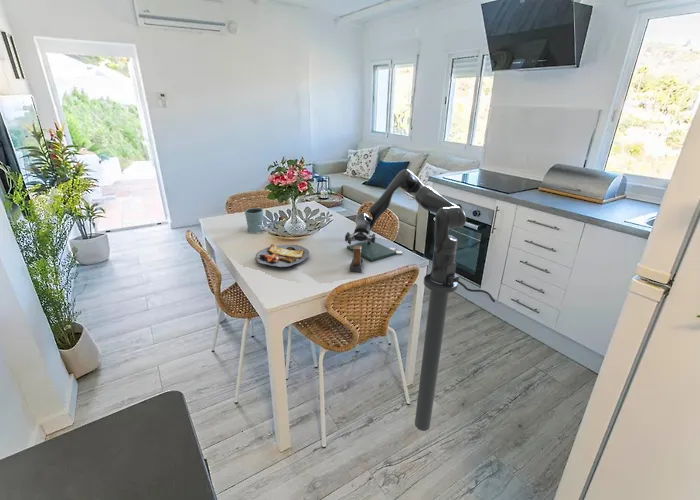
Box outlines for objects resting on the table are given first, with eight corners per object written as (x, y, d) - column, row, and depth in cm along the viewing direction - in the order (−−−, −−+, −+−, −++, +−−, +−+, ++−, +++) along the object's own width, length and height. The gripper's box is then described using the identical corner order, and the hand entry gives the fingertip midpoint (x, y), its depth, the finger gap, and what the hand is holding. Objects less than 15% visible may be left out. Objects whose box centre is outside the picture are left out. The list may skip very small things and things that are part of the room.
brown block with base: (363, 263, 162) (364, 243, 158) (361, 273, 152) (362, 251, 149) (352, 262, 162) (353, 242, 158) (349, 272, 153) (350, 251, 149)
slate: (396, 254, 173) (396, 251, 172) (371, 261, 164) (371, 259, 164) (370, 242, 188) (371, 240, 187) (346, 248, 179) (346, 246, 179)
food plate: (245, 263, 160) (245, 256, 158) (273, 245, 179) (273, 239, 178) (293, 273, 151) (293, 266, 150) (317, 253, 171) (317, 246, 170)
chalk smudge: (395, 248, 180) (395, 247, 179) (395, 251, 177) (395, 250, 177) (389, 248, 180) (389, 247, 180) (389, 250, 177) (389, 249, 177)
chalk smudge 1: (401, 251, 176) (401, 250, 175) (401, 254, 173) (402, 253, 173) (395, 251, 176) (395, 250, 176) (395, 253, 173) (395, 252, 173)
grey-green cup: (256, 234, 196) (254, 214, 191) (242, 231, 201) (240, 211, 196) (268, 229, 204) (266, 209, 199) (255, 226, 209) (253, 206, 204)
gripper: (348, 223, 174) (343, 234, 159) (376, 225, 172) (374, 236, 158) (347, 237, 177) (343, 249, 162) (376, 239, 175) (374, 251, 160)
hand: (358, 243), depth 160 cm, fingers open, 8 cm apart
